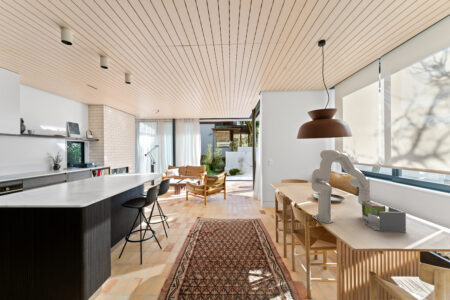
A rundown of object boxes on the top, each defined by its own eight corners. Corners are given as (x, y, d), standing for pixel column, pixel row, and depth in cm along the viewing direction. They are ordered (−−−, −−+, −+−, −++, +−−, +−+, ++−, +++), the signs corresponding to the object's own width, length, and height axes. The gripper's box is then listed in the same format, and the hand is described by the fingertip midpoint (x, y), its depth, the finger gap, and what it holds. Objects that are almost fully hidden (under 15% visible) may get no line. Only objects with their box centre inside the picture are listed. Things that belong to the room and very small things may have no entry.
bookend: (376, 230, 140) (375, 218, 140) (364, 224, 152) (364, 212, 152) (381, 230, 139) (381, 218, 139) (369, 224, 152) (369, 212, 152)
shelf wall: (380, 231, 138) (380, 212, 138) (367, 224, 152) (367, 206, 152) (405, 232, 137) (405, 212, 137) (390, 224, 151) (390, 206, 151)
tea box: (386, 225, 150) (386, 206, 150) (371, 224, 152) (371, 205, 152) (374, 218, 165) (374, 201, 165) (361, 217, 167) (361, 200, 167)
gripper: (354, 190, 177) (355, 210, 177) (365, 193, 162) (365, 215, 162) (363, 190, 176) (363, 210, 176) (374, 193, 161) (375, 215, 161)
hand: (364, 212), depth 169 cm, fingers closed
